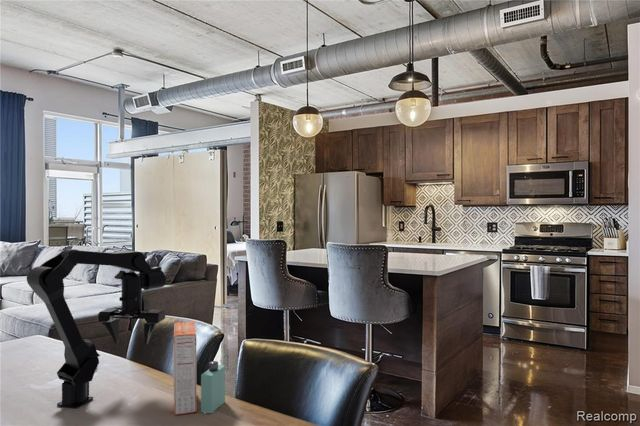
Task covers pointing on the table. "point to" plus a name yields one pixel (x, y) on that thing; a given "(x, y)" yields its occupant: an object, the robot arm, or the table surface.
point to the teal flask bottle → (212, 387)
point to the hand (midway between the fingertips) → (131, 343)
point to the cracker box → (184, 368)
